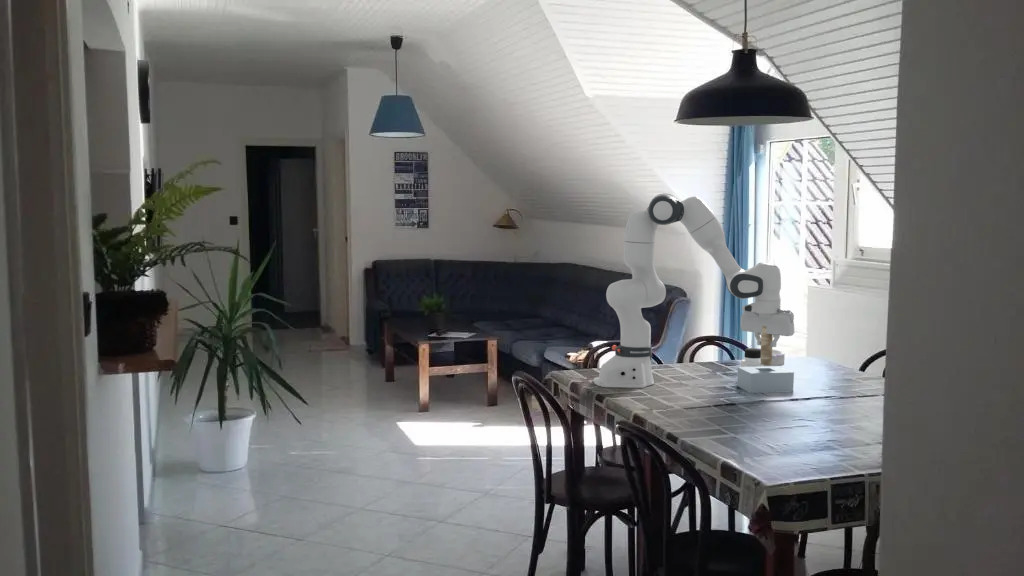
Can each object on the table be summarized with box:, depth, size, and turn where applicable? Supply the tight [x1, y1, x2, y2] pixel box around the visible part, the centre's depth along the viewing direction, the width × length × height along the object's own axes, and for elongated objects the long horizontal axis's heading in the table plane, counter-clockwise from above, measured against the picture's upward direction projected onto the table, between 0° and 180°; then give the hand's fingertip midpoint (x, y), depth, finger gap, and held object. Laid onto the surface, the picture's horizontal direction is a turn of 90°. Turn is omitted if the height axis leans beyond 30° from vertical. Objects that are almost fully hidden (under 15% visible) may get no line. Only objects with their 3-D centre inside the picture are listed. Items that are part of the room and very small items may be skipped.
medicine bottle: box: [740, 347, 764, 367], centre depth 334 cm, size 7×7×12 cm
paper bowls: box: [757, 347, 786, 367], centre depth 352 cm, size 15×15×8 cm
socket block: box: [736, 366, 795, 394], centre depth 319 cm, size 16×12×7 cm
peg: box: [760, 326, 774, 365], centre depth 317 cm, size 4×4×14 cm
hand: (766, 346), depth 317 cm, fingers closed on peg, 4 cm apart
